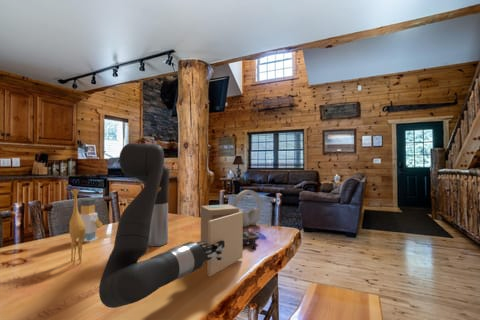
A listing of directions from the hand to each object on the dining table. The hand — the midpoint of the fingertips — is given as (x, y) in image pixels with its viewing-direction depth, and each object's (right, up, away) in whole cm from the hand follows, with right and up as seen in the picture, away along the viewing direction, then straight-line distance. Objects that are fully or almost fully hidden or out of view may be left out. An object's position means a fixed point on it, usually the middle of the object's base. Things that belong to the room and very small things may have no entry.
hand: (221, 243), depth 81 cm
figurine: (+5, -10, +35) cm, 37 cm away
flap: (+2, -8, +2) cm, 9 cm away
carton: (-2, -9, +13) cm, 16 cm away
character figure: (-61, -10, +33) cm, 70 cm away
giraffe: (-52, -9, +9) cm, 53 cm away
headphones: (+10, -11, +61) cm, 63 cm away
